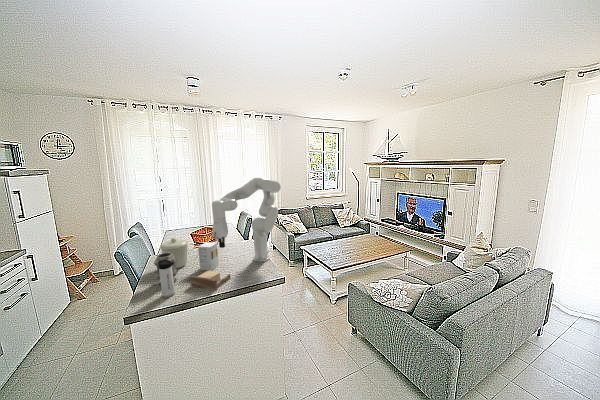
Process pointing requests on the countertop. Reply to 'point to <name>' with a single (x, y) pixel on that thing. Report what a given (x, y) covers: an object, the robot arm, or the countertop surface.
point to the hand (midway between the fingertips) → (222, 247)
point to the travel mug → (166, 278)
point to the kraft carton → (211, 275)
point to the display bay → (207, 282)
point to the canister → (176, 250)
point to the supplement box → (208, 256)
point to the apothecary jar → (166, 257)
